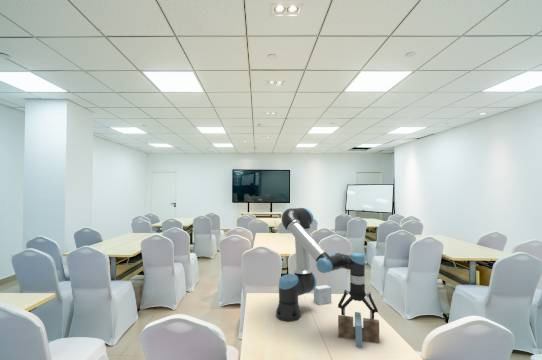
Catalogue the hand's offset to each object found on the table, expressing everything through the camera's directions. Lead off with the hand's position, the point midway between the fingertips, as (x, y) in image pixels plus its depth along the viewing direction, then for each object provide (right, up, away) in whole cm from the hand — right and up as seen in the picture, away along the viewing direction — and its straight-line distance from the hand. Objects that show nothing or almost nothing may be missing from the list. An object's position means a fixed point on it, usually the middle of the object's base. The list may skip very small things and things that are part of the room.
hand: (357, 323), depth 148 cm
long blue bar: (-1, -5, -6) cm, 8 cm away
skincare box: (-11, -8, +42) cm, 44 cm away
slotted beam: (-1, -5, -6) cm, 8 cm away
